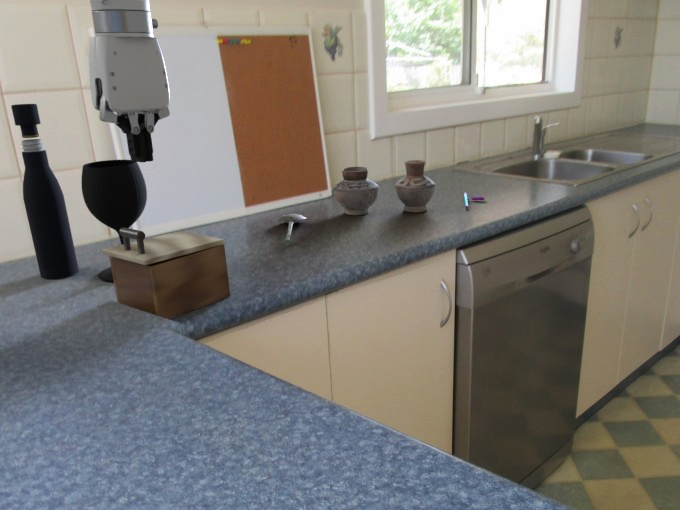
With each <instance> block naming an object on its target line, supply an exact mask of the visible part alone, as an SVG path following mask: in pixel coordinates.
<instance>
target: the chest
mask: <svg viewBox="0 0 680 510" xmlns="http://www.w3.org/2000/svg"><path fill="white" fill-rule="evenodd" d="M108 258H109V264H110V267H111V269H112V275H113V280H114V282H113V285H114V286H113V287H114V291H115V296H116V301H117V304H121V305H124V306H126V307H129V308H133V309H136V310H139V311H141V312H145V313H149V314H151V315H154V316H157V317H161V318H164V319H166V320H169V319H170V318H172V317H175V316H177V317H179V316H178V315H180V314H182V315H184V314H183V313H185V314H187V313H186V312H188V311H190V312H192V311H191V310H193V311H195V310H198V309H200V308H203V307H206V306H208V305H211V304H214V303H215V302H218V301H221V300H223V299H226V298H228V297H231V289H230V288H231V287H230V281H229V274H228V266H227V265H228V264H227V256H226V248H225V243H224V244H223V245H219V246H215V247H211V248H208V249H204V250H200V251H197V252H193V253H189V254H186V255H182V256H178V257H174V258H171V259H167V260H163V261H160V262H156V263H152V264H149V265H142V264H139V263H135V262H131V261H127V260H123V259H119V258H116V257H112V256H108ZM202 306H203V307H202ZM188 313H189V312H188ZM180 316H181V315H180ZM175 318H176V317H175ZM172 319H173V318H172ZM170 320H171V319H170Z"/></svg>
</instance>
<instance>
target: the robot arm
mask: <svg viewBox="0 0 680 510" xmlns="http://www.w3.org/2000/svg"><path fill="white" fill-rule="evenodd" d="M89 4H90V11H91V16H92V23H93V29H94V35H95V36H90V37H89V41H88V75H89V77H88V78H89V87H90V96H91V102H92V106H93V108H94V109H95V110H96V111H99V115H98V116H99V120H100V122H103V123H110V124H114V125H115V126H116V127H118V128H119V129H120V131H121V133H123V134H125V137H126V143H127V149H128V154H129V157H130V160H132V161H135V162H137V163H147V162H153V161H154V148H153V140H152V139H153V138H152V134H153V133H154V132H155V126H156V125H157V123H158V122H159V121H160V120H163V119H165V118H167V117H169V116H170V113H171V112H170V109H169V106H170V105H171V93H170V85H169V79H168V74H167V68H166V64H165V63H166V62H165V59H164V56H163V52H162V48H161V45H160V43H159V40H158V37H155V36H154V30H157V29H158V27H159V22H158V20H157V19H156V18H152V13H151V5H150V0H89Z"/></svg>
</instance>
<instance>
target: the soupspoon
mask: <svg viewBox="0 0 680 510" xmlns="http://www.w3.org/2000/svg"><path fill="white" fill-rule="evenodd" d="M304 220H307V217H305V216H304V215H302V214H299V213H287V214H283V215H282V216H280V217H279V218H278V219H277V221H279V222H284V223H286V224H288V226H287V234H286V236H285V239H283V240H282V245H283V246H284V247H291V245H292V240H291V239H292V238H291V234H292V230H293V225H294V224H297V223H299V222H302V221H304Z"/></svg>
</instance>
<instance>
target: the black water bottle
mask: <svg viewBox="0 0 680 510" xmlns="http://www.w3.org/2000/svg"><path fill="white" fill-rule="evenodd" d="M10 107H11V111H12V112H11V113H12V116H13V121H14V125H15V126H18V127H20V131H21V137H22V140H21V143H20V145H21V146H22V148H21V149H22V150H23V151H22V152H21V156H22V160H23V165H24V174H23V181H22V199H23V204H24V209H25V214H26V217H27V222H28V227H29V230H30V235H31V239H32V243H33V248H34V252H35V253H34V254H35V257H36V262H37V266H38V270H39V276H40V277H41V278H42V279H45V280H58V279H64V278H69V277H72V276H75V275H77V274H78V273H79V272H80V269H79V264H78V259H77V255H76V250H75V244H74V239H73V234H72V230H71V229H72V228H71V226H70V225H71V224H70V220H69V215H68V210H67V205H66V199H65V194H64V192H63V190H62V187H61V185H60V182H59V181H58V179H57V177H56V175H55V173H54V172H53V169H51V167H50V164H49V159H48V158H49V157H48V153H47V150H46V149H44V148H45V146H44V145H43V144H44V142H43V141H42V139H41V138H38V137H40V134H39V130H38V125H41V119H40V114H39V109H38V105H37V103H19V104H17V103H16V104H12V105H10Z"/></svg>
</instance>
